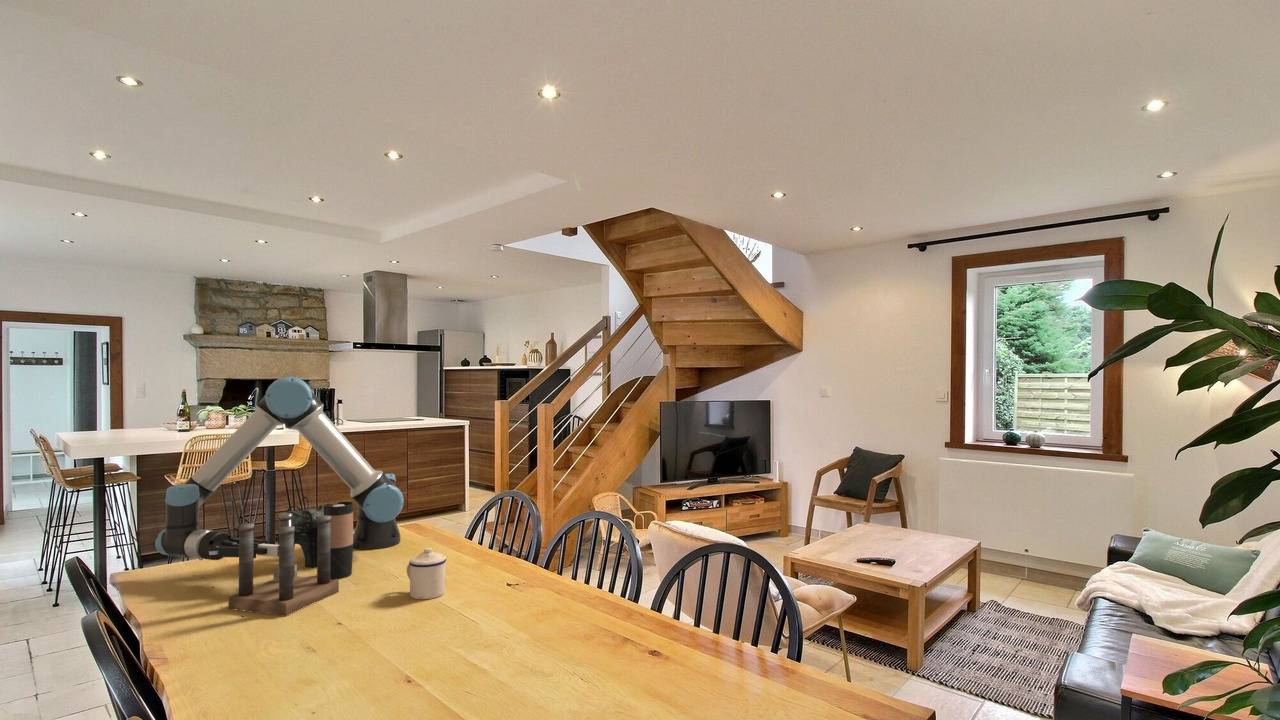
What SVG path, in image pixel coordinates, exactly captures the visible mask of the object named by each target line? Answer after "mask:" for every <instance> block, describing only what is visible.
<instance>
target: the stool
mask: <svg viewBox="0 0 1280 720" xmlns="http://www.w3.org/2000/svg"><path fill="white" fill-rule="evenodd" d="M317 523H318V535H317V567H316V568H317V569H316V577H309V576H298V564H294V563H295V561H294V560H295V559H294V558H295V557H294V556H295V547H294V532H295V527H294V526H286V527H281V528H279V527H278V534H280V551H279V557H278V568H274V569H273V578H272V580H269V581H266V582H263V583H261V584H258V585H256V586H254V559H253V554H254V538H255V537H254V536H255V535H254V534H255V533H254V531H255V523H252V522H251V523H250V522H249V523H241V524H239V525H238V531H239V534H238V536H239V537H238V539H239V557H238V592H237V593H234V594H231V595H229V596H228V598H227V599H228V601H227V602H228V603H227V604H228V610H230V609H237V610H236V611H239V610H245V611H244V612H247V611H252V612H251V613H255V612H260V613H259V614H264V613H267V614H266V615H272V614H274V616H281V615H284V616H283V617H288V616H289V614H290V615H292V614H294V613H296V612H298V611H297V610H299V609H301V608H303V607H305V606H307V607H309V606H311V605H310V604H312V603H314V602H316V603H317V601H318V602H320V601H322V600H324V598H325V599H327V598H329V597H331V596H333V595H335V594H337V592H338V593H339V592H340V591H339V590H340V589H339V588H340V587H339V586H340V585H339V584H340V583H339V580H340V579H334V580H330V534H331V516H319V517H317ZM330 595H331V596H330ZM328 596H329V597H328ZM326 597H327V598H326ZM319 600H320V601H319ZM314 604H315V603H314ZM308 605H309V606H308ZM312 605H313V604H312ZM305 608H306V607H305ZM303 609H304V608H303ZM301 610H302V609H301ZM295 611H296V612H295ZM299 611H300V610H299ZM293 612H294V613H293ZM291 613H292V614H291ZM275 614H276V615H275ZM287 615H288V616H287Z"/></svg>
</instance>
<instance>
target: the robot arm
mask: <svg viewBox="0 0 1280 720" xmlns="http://www.w3.org/2000/svg"><path fill="white" fill-rule="evenodd" d="M283 425H285V427H286V428H287V429H288V430H293V431H298V432H299V434H300V435H301V436H302V437H303V438H304V439H305V440H306V441H307V442H308V444H309V445H311V447H312V448H313V449H314V450H315V451H316V452H317V454H319V456H320V457H321V458H322V459H323V460H324V462H325V463H327V464H328V465H329V467H330V468H331V470H333V471H334V473H336V474H337V475H338V477H339V478H340V479H341V480H342V481H343V483H345V484H346V485H347V486H348V488H349V489H350V492H349V493H350V495H349V497H350V498H351V499H352V500H353V501H354V503H356V505H357V521H356V526H355V529H354V530H353V549H358V550H360V549H361V550H374V549H375V550H376V549H384V548H389V547H392V546H395V545H398V544H399V543H401V532H400V529H399V526H398V524H397V520H396V518H397V517H398V516H399V514H400V513H401V512H402V510H403V507H404V502H405V501H404V495H403V492H402V491H401V489H400V488H399V487H397V486H396V482H397V480H396V475H395V474H394V473H385V472H383V471H382V470H375V469H374V468H373V467H372V466H371V465H370V463H369V462H368V461H367V460H366V458H364V457H363V455H362V454H361V453H360V451H358V450H357V449H356V447H354V445H353V444H352V443H351V442H350V441H349V440H348V439H347V437H346V436H345V435H344V434H343V433H342V432H341V431H340V429H339V428H338V427H337V426H336V425H335V424H334V423H333V421H332V420H331V419H330V418H329V417H328V416H327V415H326V413H325V412H324V403H323V402H322V401H321V400H320V398H319V397H318V396H317V395H316V394H315V392H313V390H312V389H311V388H310V386H309V384H308V383H307V382H306V381H304V380H303V379H302V378H301V379H300V378H298V377H294V376H284V377H280V378H278V379H277V380H274V381H273V382H272V383H271V384H270V385H269V386H268V387H267V389H266V391H265V394H264V396H263V397H262V398H261V399H260V401H259V402H258V403H257V404H256V405H255V411H254V412H253V413H252V414H251V415H250V416H249V417H248V418H247V419H246V420H245V421H244V422H243V423H242V424H241V425H240V426H238V428H237V429H236V430H235V431H234V432H233V433H232V434H231V435H230V437H228V439H226V441H224V443H222V444H221V445H220V447H219V448H218V449H216V451H214V453H213V454H211V456H210V457H209V458H208V459H207V460H206V461H205V462H204V463H203V464H202V465H201V466H199V468H198V469H197V470H196V471H195V472H194V473H193V474H192V475H191V476H190V477H189V478H188V479H187V480H186V481H185V482H184V483H183V484H175V485H172V486H169V487H167V489H166V493H165V498H164V500H165V501H164V502H165V527H164V529H163V530H161V531H160V532H159V533H158V534H157V537H156V539H155V543H154V544H155V545H154V546H155V549H156V550H157V552H159V554H161V555H164V556H170V557H174V558H177V557H178V558H179V557H180V558H190V559H198V560H199V561H203V560H207V561H209V560H210V561H220V560H222V559H224V558H239V537H232V536H231V535H230V534H229V532H226V531H221V530H220V531H219V530H210V529H199V527H200V526H199V523H200V521H199V519H200V518H199V517H200V508H201V506H202V505H203V504H204V503H205V502H206V501H207V500H208V499H209V498H210V496H211V495H213V493H214V492H215V491H216V490H217V489H218V488H219V487H220V486H221V485H222V483H224V482H225V480H226V479H228V477H230V475H231V474H232V473H234V471H235V470H237V469H238V467H239V466H240V465H241V464H242V463H243V461H245V460H246V459H247V457H249V455H251V454H252V452H253V451H254V450H255V449H256V448H257V447H259V445H260V444H261V443H262V442H263V441H264V440H266V438H267V437H268V436H269V435H270V434H271V433H272V431H274V430H275V428H276V427H278V426H283ZM257 556H259V557H260V556H261V557H262V556H263V557H273V558H279V545H278V544H272V543H271V544H270V543H269V541H268V540H266V539H258V538H255V537H254V554H253V560H254V559H256V558H257Z"/></svg>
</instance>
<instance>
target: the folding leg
mask: <svg viewBox="0 0 1280 720" xmlns="http://www.w3.org/2000/svg"><path fill="white" fill-rule="evenodd" d="M292 519H293V513H286V512H285V513H284V512H283V513H279V514H278V524H279V525H278V529H279V528H281V527H286V526H292ZM278 534H279V533H278ZM279 551H280V534H279Z"/></svg>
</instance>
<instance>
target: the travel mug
mask: <svg viewBox="0 0 1280 720" xmlns="http://www.w3.org/2000/svg"><path fill="white" fill-rule="evenodd" d="M323 510H324V516H331V534H330V580H341V579H345V578H348V577H350V576H351V575H353V574H352V573H353V558H354V557H353V555H354V554H353V553H354V552H353V551H354V547H353V534H354V503H353V501H338V502H337V503H335V504H334V503H333V504H331V503H330V502H328V503H325V504H324V505H323Z"/></svg>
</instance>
